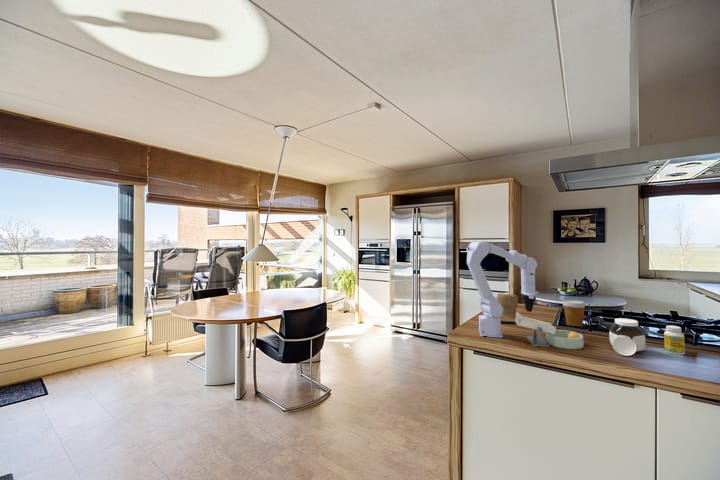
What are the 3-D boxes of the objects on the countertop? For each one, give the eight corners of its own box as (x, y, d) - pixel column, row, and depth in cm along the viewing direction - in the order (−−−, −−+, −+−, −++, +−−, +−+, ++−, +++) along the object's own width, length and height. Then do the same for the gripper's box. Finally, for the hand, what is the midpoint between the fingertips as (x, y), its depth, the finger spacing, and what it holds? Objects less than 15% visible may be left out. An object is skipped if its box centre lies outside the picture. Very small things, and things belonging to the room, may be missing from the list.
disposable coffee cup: (590, 328, 146) (589, 303, 146) (568, 328, 148) (567, 303, 148) (580, 323, 156) (579, 299, 156) (559, 323, 158) (558, 299, 158)
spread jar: (636, 347, 121) (635, 318, 121) (656, 358, 110) (655, 326, 110) (601, 346, 124) (600, 317, 124) (617, 357, 113) (616, 325, 113)
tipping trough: (517, 325, 130) (519, 315, 130) (511, 316, 144) (513, 308, 144) (554, 334, 126) (556, 324, 126) (544, 324, 140) (546, 316, 140)
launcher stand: (533, 346, 126) (532, 327, 126) (526, 337, 138) (525, 320, 138) (549, 347, 124) (548, 328, 124) (541, 338, 136) (540, 320, 136)
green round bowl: (551, 347, 124) (551, 337, 124) (543, 337, 136) (542, 328, 136) (588, 349, 120) (588, 339, 120) (576, 339, 132) (575, 330, 132)
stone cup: (518, 318, 168) (517, 291, 168) (522, 324, 157) (521, 295, 157) (488, 317, 173) (487, 291, 173) (490, 323, 162) (489, 294, 162)
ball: (583, 337, 124) (577, 345, 125) (579, 334, 128) (574, 342, 129) (573, 332, 125) (567, 340, 126) (569, 329, 129) (564, 337, 130)
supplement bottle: (679, 350, 116) (678, 325, 116) (688, 355, 112) (687, 329, 112) (661, 349, 118) (660, 324, 118) (669, 354, 113) (668, 328, 113)
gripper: (541, 284, 137) (542, 315, 137) (534, 280, 150) (535, 308, 150) (523, 284, 139) (524, 314, 139) (518, 280, 153) (519, 307, 153)
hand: (528, 311), depth 145 cm, fingers closed
